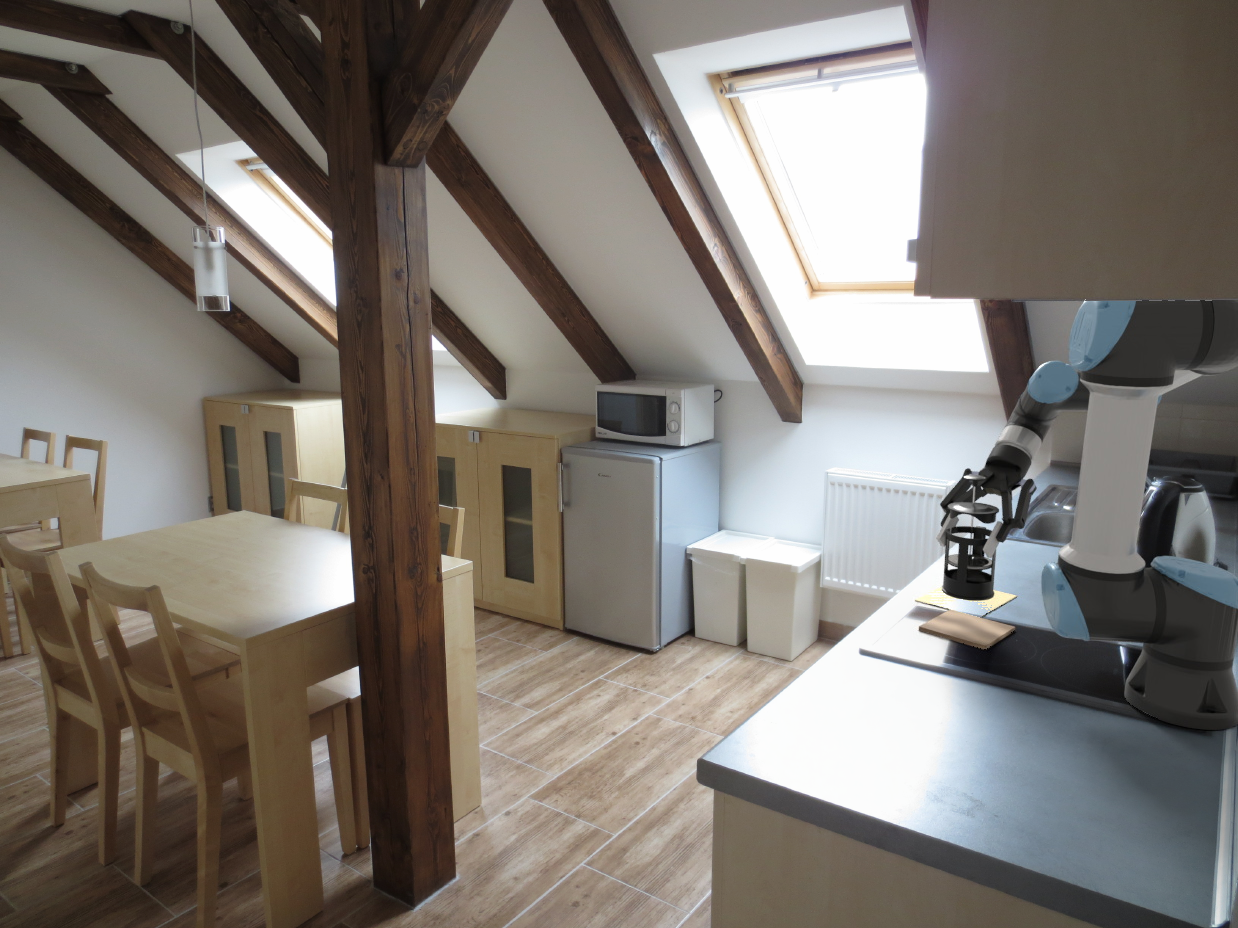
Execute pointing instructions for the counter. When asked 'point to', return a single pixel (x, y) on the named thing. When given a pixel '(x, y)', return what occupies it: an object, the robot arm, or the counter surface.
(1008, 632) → the wooden cutting board
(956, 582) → the french press
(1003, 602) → the recipe card
